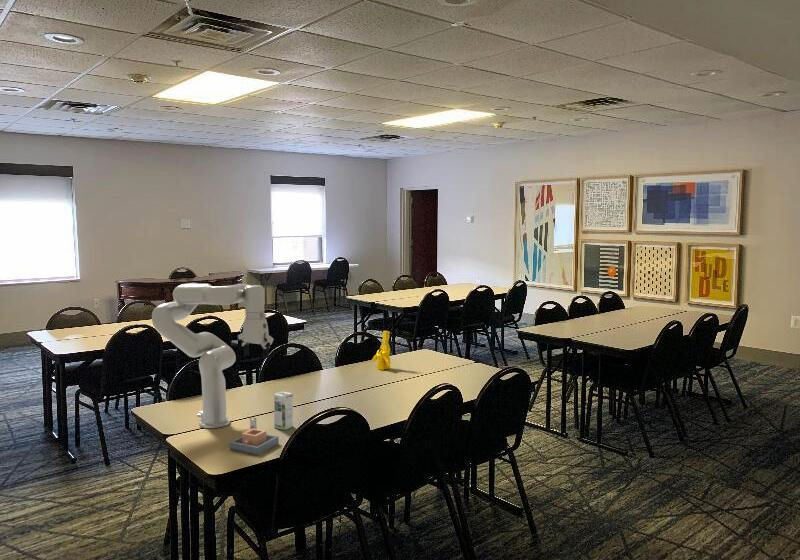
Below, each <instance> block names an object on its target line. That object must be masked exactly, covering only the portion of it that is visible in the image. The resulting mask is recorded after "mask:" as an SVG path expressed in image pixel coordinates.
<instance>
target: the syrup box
mask: <svg viewBox="0 0 800 560" xmlns="http://www.w3.org/2000/svg"><path fill="white" fill-rule="evenodd" d="M273 405H274V406H273V408H274V409H273V410H274V411H273V412H274V413H273V414H274V415H273V417H274V429H279V430H283V431H286V430H288V429H290V428H293V427H294V394H293V392H286V391H279V392H276V393H274V394H273Z"/></svg>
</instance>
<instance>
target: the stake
mask: <svg viewBox="0 0 800 560" xmlns="http://www.w3.org/2000/svg"><path fill="white" fill-rule="evenodd" d="M249 423H250V424H249V425H250V429H249V430H251V429H258V426H257V417H250V418H249Z"/></svg>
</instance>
